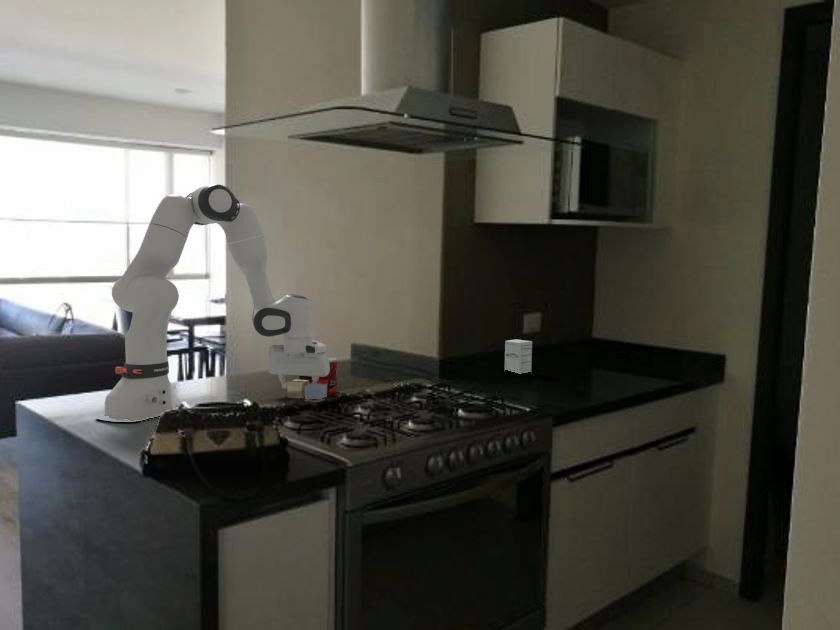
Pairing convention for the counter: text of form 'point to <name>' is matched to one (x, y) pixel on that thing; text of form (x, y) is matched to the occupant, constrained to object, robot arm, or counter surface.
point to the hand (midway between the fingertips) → (298, 389)
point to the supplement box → (518, 356)
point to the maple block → (296, 388)
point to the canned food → (330, 377)
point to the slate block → (315, 391)
